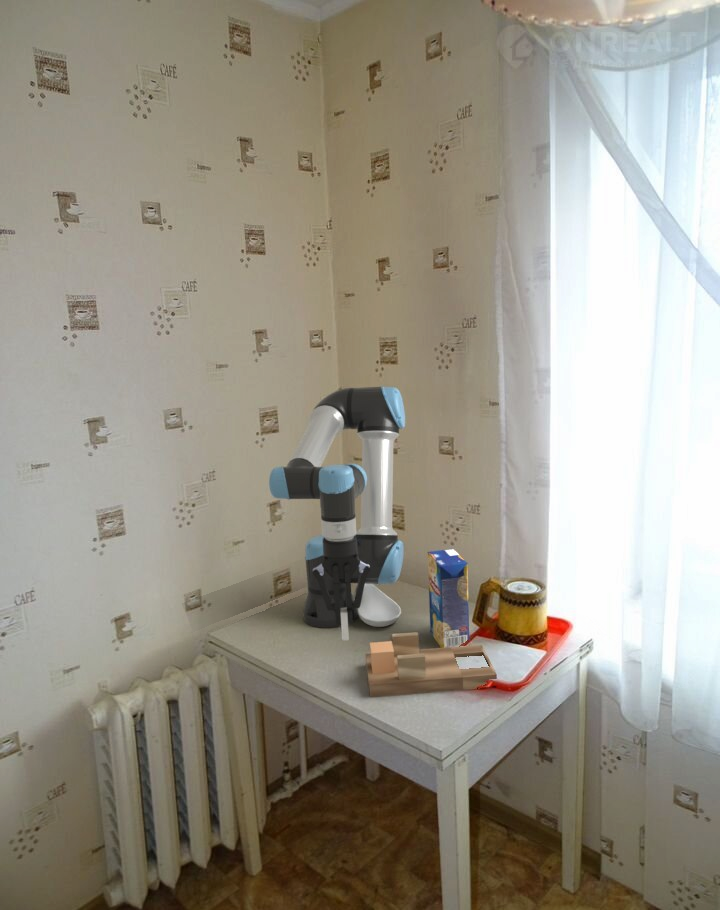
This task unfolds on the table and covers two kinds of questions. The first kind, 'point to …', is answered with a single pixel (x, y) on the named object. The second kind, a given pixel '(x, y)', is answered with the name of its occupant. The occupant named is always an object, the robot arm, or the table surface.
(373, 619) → the spoon rest
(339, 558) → the robot arm
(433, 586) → the beverage box
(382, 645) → the block
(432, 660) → the deck
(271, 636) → the table surface
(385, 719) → the table surface
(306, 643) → the table surface
